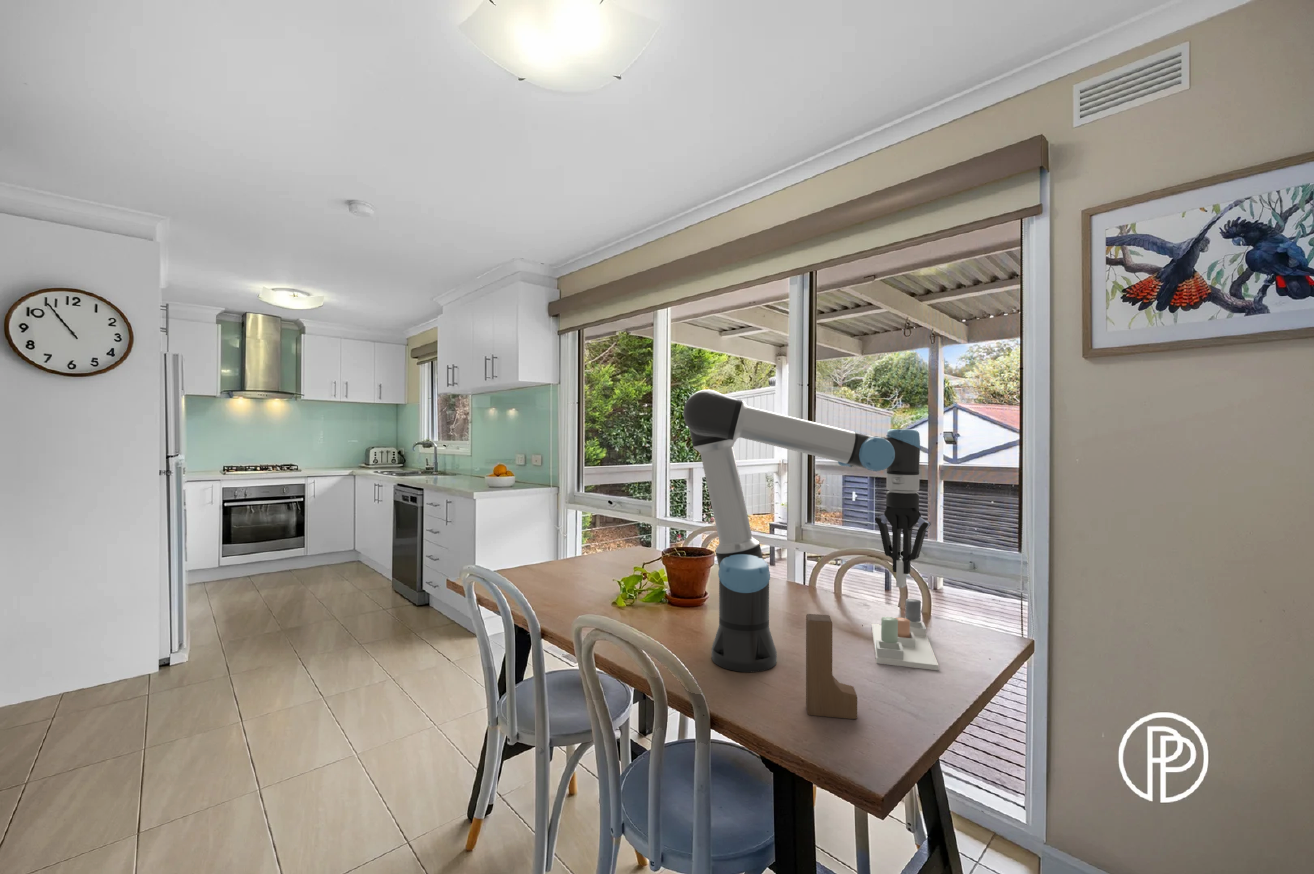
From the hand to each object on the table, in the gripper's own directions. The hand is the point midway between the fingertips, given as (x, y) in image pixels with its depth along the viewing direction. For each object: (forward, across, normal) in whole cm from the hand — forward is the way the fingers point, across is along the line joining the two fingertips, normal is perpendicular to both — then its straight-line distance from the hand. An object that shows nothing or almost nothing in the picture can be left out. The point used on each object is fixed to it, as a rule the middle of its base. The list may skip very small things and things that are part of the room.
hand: (901, 586), depth 142 cm
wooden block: (+16, +2, -43) cm, 46 cm away
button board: (+15, 0, 0) cm, 15 cm away
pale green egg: (+11, +1, -10) cm, 14 cm away
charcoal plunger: (+11, 0, +10) cm, 15 cm away
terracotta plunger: (+13, 0, 0) cm, 13 cm away
